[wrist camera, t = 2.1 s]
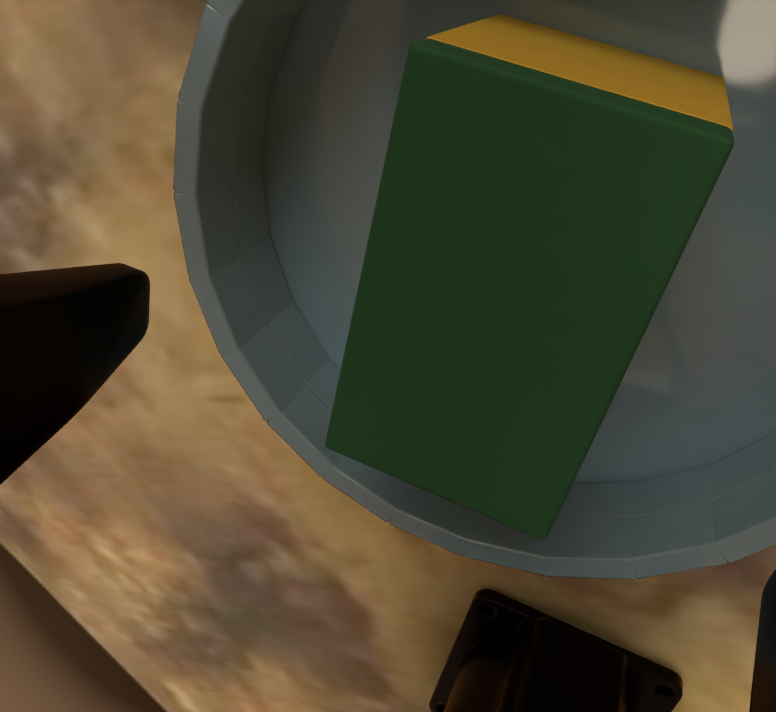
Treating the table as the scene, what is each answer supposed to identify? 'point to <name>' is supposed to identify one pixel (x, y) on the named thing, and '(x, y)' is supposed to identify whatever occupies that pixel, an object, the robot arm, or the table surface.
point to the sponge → (518, 257)
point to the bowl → (350, 237)
